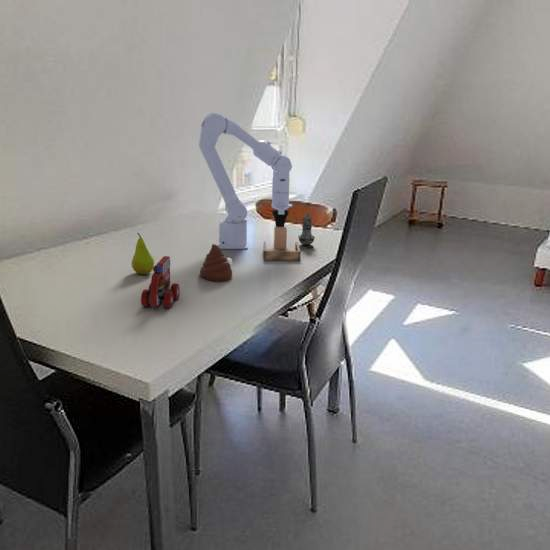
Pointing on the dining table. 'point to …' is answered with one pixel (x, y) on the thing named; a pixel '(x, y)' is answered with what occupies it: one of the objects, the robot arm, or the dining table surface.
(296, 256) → the walnut tray
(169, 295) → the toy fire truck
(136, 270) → the fruit
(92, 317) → the dining table surface
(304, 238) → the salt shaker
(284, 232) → the tall block
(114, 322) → the dining table surface
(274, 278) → the dining table surface
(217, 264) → the poop emoji
